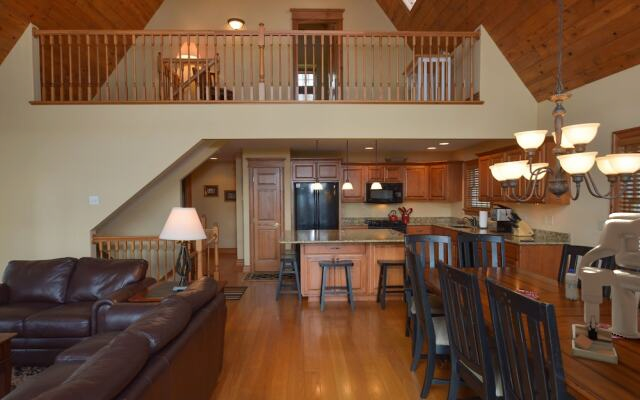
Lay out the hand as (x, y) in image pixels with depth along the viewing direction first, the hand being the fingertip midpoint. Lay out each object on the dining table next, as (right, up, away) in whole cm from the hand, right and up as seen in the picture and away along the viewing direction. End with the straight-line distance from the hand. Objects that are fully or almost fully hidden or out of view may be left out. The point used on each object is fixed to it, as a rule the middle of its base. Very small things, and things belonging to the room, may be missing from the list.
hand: (592, 337), depth 160 cm
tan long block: (0, 0, 0) cm, 0 cm away
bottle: (+42, -3, +72) cm, 83 cm away
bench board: (+4, -4, +6) cm, 9 cm away
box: (-5, -5, -7) cm, 10 cm away
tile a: (-2, -2, -10) cm, 11 cm away
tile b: (-6, -2, -2) cm, 6 cm away
